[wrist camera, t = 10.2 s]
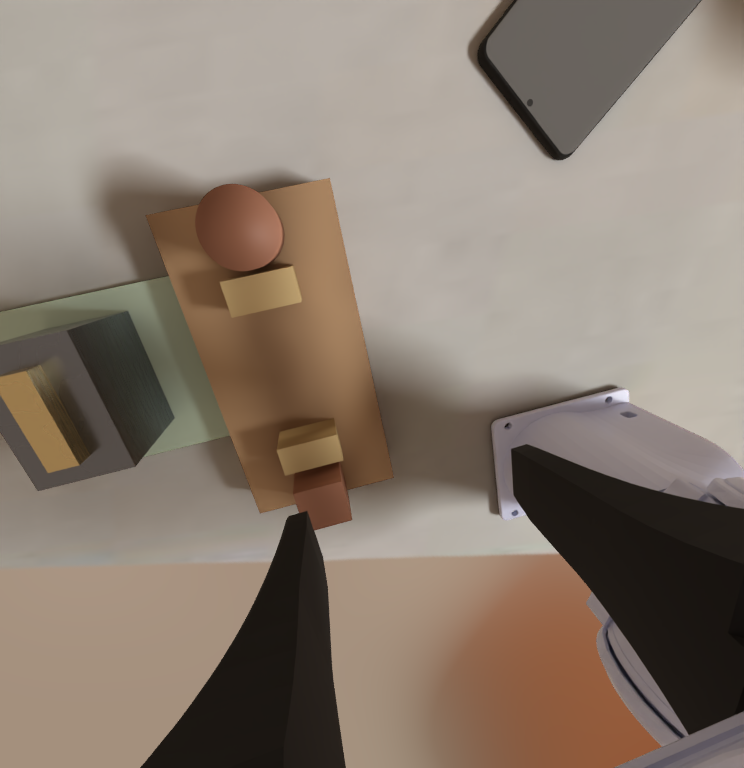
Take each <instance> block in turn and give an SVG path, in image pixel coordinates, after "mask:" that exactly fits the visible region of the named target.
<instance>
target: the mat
mask: <svg viewBox="0 0 744 768" xmlns="http://www.w3.org/2000/svg"><path fill="white" fill-rule="evenodd" d="M124 311H128V312H129V314H130V316H131V319H132V321H133V323H134V326H135V328H136V330H137V332H138V335H139V337H140V339H141V342H142V344H143V346H144V348H145V351H146V353H147V355H148V358H149V360H150V362H151V364H152V367H153V369H154V371H155V373H156V376H157V378H158V380H159V383H160V385H161V387H162V389H163V392H164V394H165V396H166V399H167V401H168V403H169V405H170V408H171V410H172V412H173V415H174V417H175V418H174V420H173V421H172V422H171V423H170V425H169V426H168V427H167V428H166V429H165V431H164V432H163V433H162V434H161V436H160V437H159V438H158V439H157V441H156V442H155V443H154V444H153V445H152V447H151V448H150V449H149V450H148V452H147V453H146V454H145V455H144V457H147V456H151V455H155V454H159V453H163V452H167V451H171V450H175V449H179V448H183V447H187V446H191V445H195V444H199V443H203V442H207V441H211V440H215V439H219V438H223V437H226V436H230V434H229V431H228V429H227V426H226V423H225V421H224V418H223V416H222V413H221V410H220V408H219V405H218V403H217V400H216V397H215V395H214V392H213V390H212V387H211V384H210V382H209V379H208V376H207V374H206V371H205V369H204V366H203V363H202V361H201V358H200V356H199V353H198V350H197V348H196V345H195V343H194V340H193V337H192V335H191V332H190V330H189V327H188V324H187V322H186V319H185V317H184V314H183V311H182V309H181V306H180V304H179V301H178V298H177V296H176V293H175V291H174V288H173V285H172V283H171V280H170V278H169V276H165V277H161V278H156V279H151V280H147V281H142V282H137V283H133V284H128V285H123V286H119V287H114V288H109V289H105V290H100V291H95V292H91V293H86V294H81V295H77V296H72V297H67V298H63V299H58V300H53V301H49V302H44V303H39V304H35V305H30V306H25V307H21V308H16V309H11V310H7V311H2V312H0V342H1V341H5V340H8V339H12V338H15V337H19V336H22V335H26V334H29V333H33V332H36V331H39V330H43V329H47V328H52V327H56V326H61V325H65V324H70V323H74V322H79V321H83V320H88V319H92V318H97V317H101V316H106V315H110V314H115V313H120V312H124Z"/></svg>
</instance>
